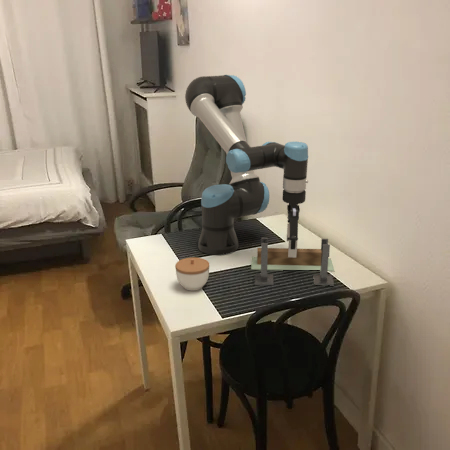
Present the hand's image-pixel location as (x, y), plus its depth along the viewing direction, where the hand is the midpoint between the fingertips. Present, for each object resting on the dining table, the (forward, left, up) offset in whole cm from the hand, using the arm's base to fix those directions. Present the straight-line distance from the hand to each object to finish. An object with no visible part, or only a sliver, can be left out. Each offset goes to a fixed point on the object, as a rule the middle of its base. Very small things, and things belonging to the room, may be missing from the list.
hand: (291, 248), depth 171 cm
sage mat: (0, 0, -6) cm, 6 cm away
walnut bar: (0, 0, -5) cm, 5 cm away
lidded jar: (-32, -18, -6) cm, 37 cm away
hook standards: (0, -13, -6) cm, 15 cm away
